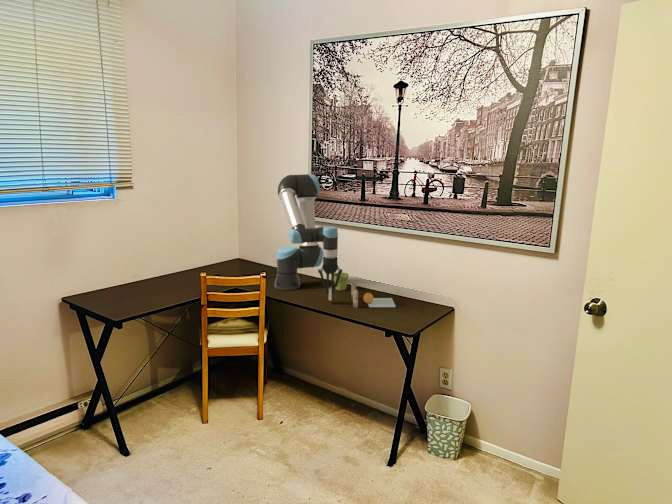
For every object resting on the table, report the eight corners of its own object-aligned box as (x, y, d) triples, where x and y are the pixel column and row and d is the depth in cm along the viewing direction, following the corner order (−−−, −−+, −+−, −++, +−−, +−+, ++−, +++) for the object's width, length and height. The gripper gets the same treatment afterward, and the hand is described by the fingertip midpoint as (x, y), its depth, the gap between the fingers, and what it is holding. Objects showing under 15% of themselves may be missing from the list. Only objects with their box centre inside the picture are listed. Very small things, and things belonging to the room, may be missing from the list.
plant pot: (347, 292, 281) (347, 277, 279) (331, 290, 283) (331, 276, 281) (350, 287, 290) (350, 272, 288) (334, 286, 292) (334, 271, 290)
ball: (365, 290, 265) (374, 293, 265) (361, 299, 266) (370, 302, 267) (365, 293, 259) (375, 296, 260) (361, 302, 261) (371, 306, 261)
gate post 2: (352, 306, 259) (353, 289, 256) (357, 306, 259) (358, 289, 257) (353, 307, 256) (353, 291, 254) (358, 307, 256) (358, 291, 254)
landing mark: (366, 298, 271) (366, 298, 271) (391, 298, 271) (391, 297, 271) (369, 307, 257) (369, 306, 257) (395, 307, 258) (395, 306, 258)
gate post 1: (351, 298, 271) (351, 282, 269) (355, 298, 271) (356, 282, 269) (351, 299, 268) (351, 283, 266) (356, 299, 268) (356, 283, 266)
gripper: (317, 258, 253) (317, 302, 259) (343, 258, 254) (342, 301, 259) (317, 254, 260) (317, 297, 266) (342, 254, 261) (341, 297, 266)
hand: (330, 299), depth 262 cm, fingers closed
